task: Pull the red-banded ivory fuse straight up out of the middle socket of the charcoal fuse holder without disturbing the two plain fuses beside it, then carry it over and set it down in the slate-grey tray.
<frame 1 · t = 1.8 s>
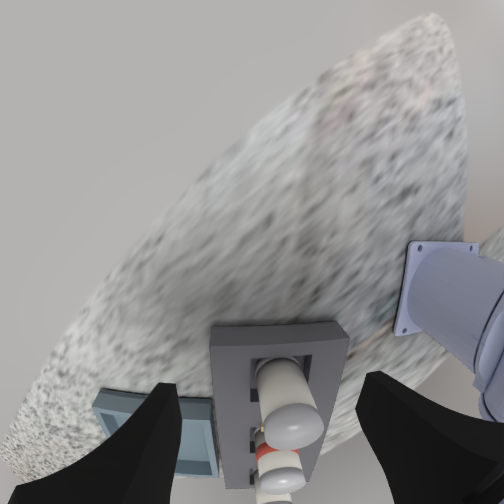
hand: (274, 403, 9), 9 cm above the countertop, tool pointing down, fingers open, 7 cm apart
fuse holder: (270, 419, 21), on the countertop
marked fuse: (271, 427, 20), point 1 cm above the countertop, touching fuse holder
tray: (163, 431, 20), on the countertop
fuse 1: (276, 367, 18), point 1 cm above the countertop, touching fuse holder
fuse 2: (267, 465, 21), point 1 cm above the countertop, touching fuse holder
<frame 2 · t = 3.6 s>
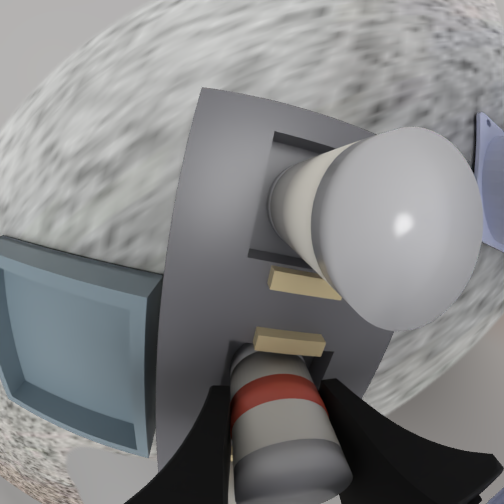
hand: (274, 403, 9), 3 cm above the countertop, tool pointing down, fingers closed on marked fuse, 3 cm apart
fuse holder: (264, 354, 12), on the countertop
marked fuse: (266, 366, 11), point 1 cm above the countertop, touching fuse holder, gripper
tray: (70, 343, 11), on the countertop
fuse 1: (309, 205, 10), point 1 cm above the countertop, touching fuse holder
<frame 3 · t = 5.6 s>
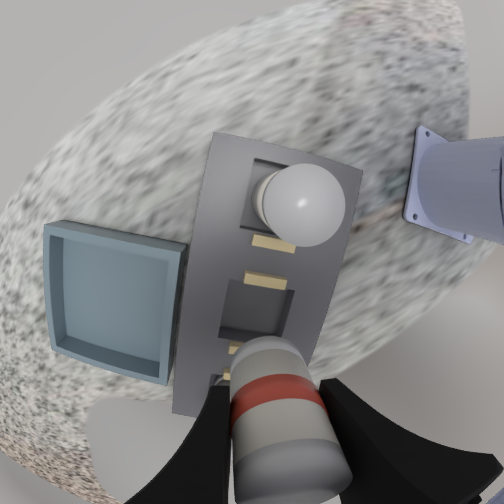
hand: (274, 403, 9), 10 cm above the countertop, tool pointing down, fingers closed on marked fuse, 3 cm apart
fuse holder: (252, 299, 19), on the countertop
marked fuse: (266, 366, 11), point 8 cm above the countertop, touching gripper
tray: (113, 297, 18), on the countertop
fuse 1: (277, 199, 16), point 1 cm above the countertop, touching fuse holder
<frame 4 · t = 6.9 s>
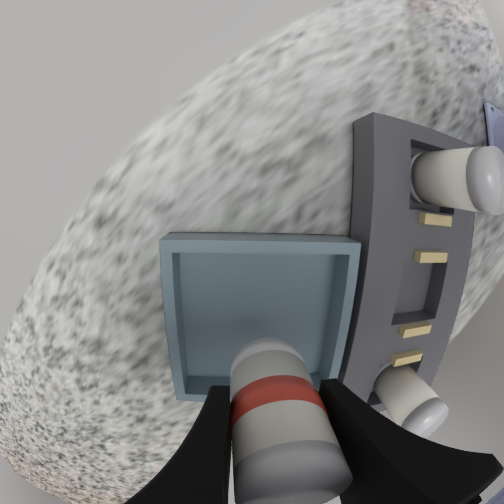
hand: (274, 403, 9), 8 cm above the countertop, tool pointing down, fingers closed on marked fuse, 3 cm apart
fuse holder: (401, 280, 17), on the countertop
marked fuse: (266, 367, 11), point 5 cm above the countertop, touching gripper
tray: (256, 314, 16), on the countertop
fuse 1: (420, 178, 14), point 1 cm above the countertop, touching fuse holder
fuse 2: (386, 371, 17), point 1 cm above the countertop, touching fuse holder
when the fingers open (5 cm above the countertop, at t = 7.7 s): marked fuse drops 2 cm, resting on tray.
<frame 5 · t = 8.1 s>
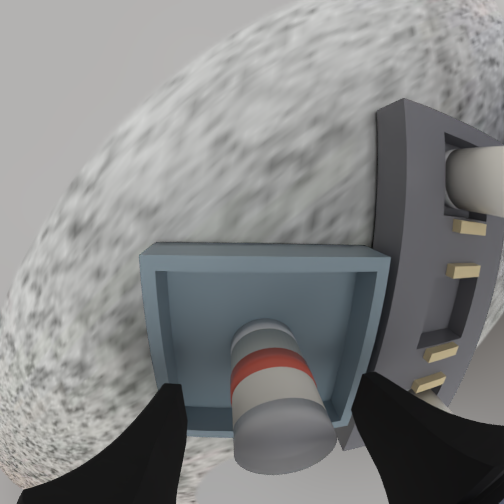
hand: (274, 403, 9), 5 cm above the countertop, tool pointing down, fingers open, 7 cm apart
fuse holder: (425, 295, 14), on the countertop
marked fuse: (263, 346, 13), point 1 cm above the countertop, touching tray
tray: (261, 340, 13), on the countertop
fuse 1: (450, 179, 11), point 1 cm above the countertop, touching fuse holder
fuse 2: (403, 394, 14), point 1 cm above the countertop, touching fuse holder
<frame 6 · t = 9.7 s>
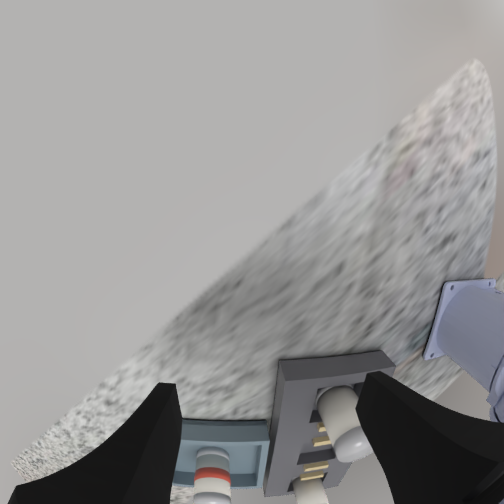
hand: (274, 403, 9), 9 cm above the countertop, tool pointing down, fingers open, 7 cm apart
fuse holder: (314, 434, 22), on the countertop
marked fuse: (212, 454, 21), point 1 cm above the countertop, touching tray
tray: (212, 450, 21), on the countertop
fuse 1: (331, 392, 19), point 1 cm above the countertop, touching fuse holder
fuse 2: (304, 473, 22), point 1 cm above the countertop, touching fuse holder
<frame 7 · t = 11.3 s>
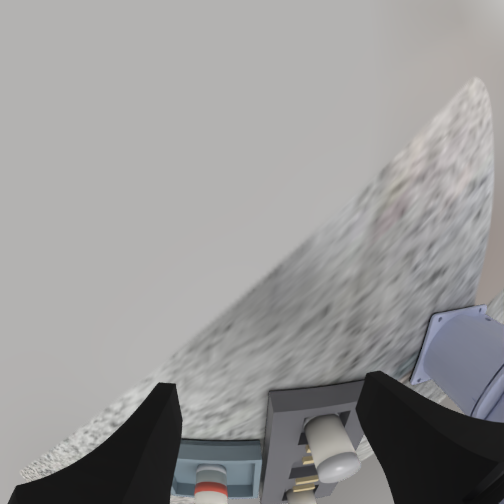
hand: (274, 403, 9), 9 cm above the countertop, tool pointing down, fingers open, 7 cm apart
fuse holder: (305, 451, 22), on the countertop
marked fuse: (211, 469, 21), point 1 cm above the countertop, touching tray
tray: (211, 465, 22), on the countertop
fuse 1: (319, 417, 20), point 1 cm above the countertop, touching fuse holder
fuse 2: (297, 484, 23), point 1 cm above the countertop, touching fuse holder
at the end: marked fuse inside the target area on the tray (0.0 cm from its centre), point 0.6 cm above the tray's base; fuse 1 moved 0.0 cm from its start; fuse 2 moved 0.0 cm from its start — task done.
